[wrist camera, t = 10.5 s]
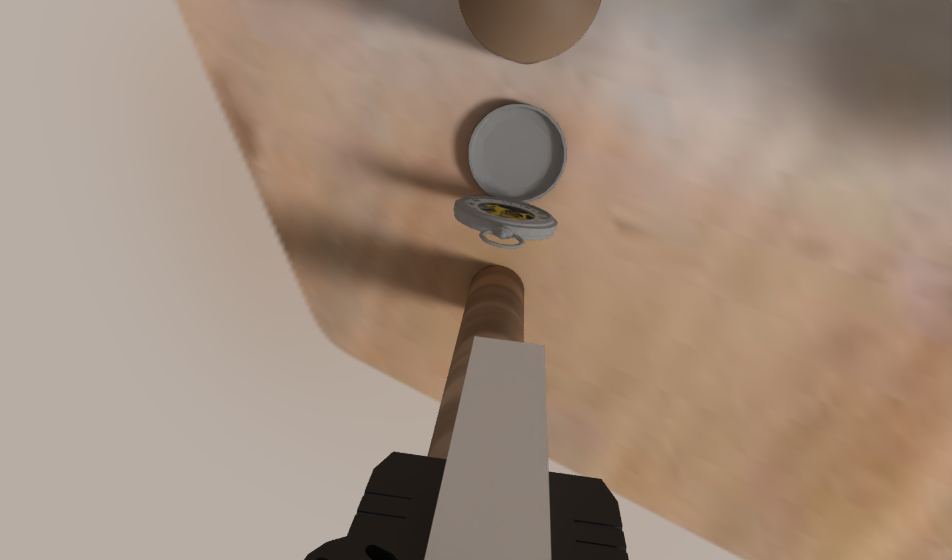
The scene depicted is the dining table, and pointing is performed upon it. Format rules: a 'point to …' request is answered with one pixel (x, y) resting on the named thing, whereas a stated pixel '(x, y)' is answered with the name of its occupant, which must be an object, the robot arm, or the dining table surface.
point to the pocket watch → (513, 174)
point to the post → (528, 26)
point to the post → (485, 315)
